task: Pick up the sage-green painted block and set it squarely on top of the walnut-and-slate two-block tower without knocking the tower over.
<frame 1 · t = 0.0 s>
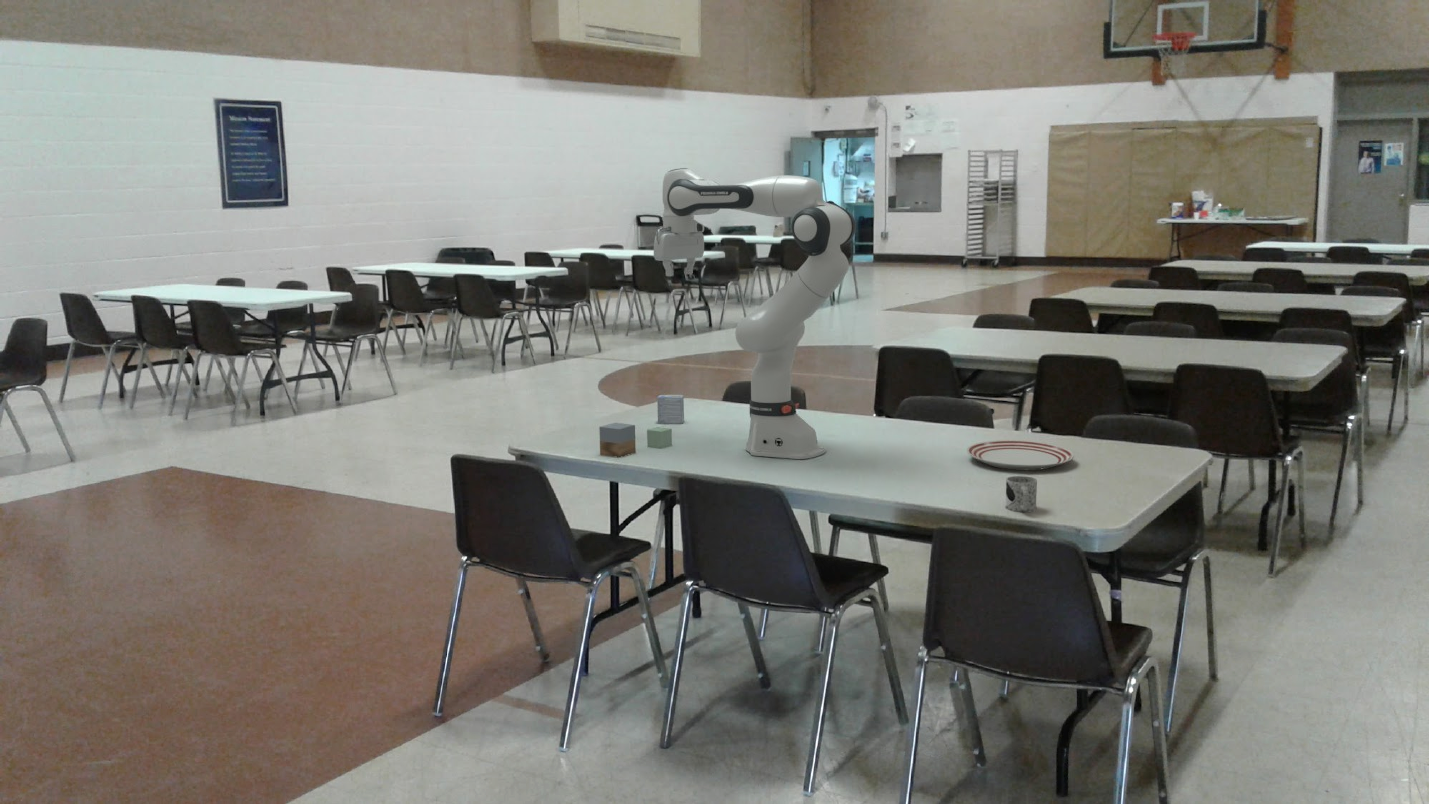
hand: (679, 275, 334), 48 cm above the table, fingers open, 8 cm apart
medicine box: (671, 423, 366), on the table
tower base: (617, 454, 323), on the table, touching tower top
sage block: (659, 446, 332), on the table
dinner plate: (1019, 463, 307), on the table
mug: (1021, 511, 260), on the table
tower top: (617, 440, 322), point 4 cm above the table, touching tower base
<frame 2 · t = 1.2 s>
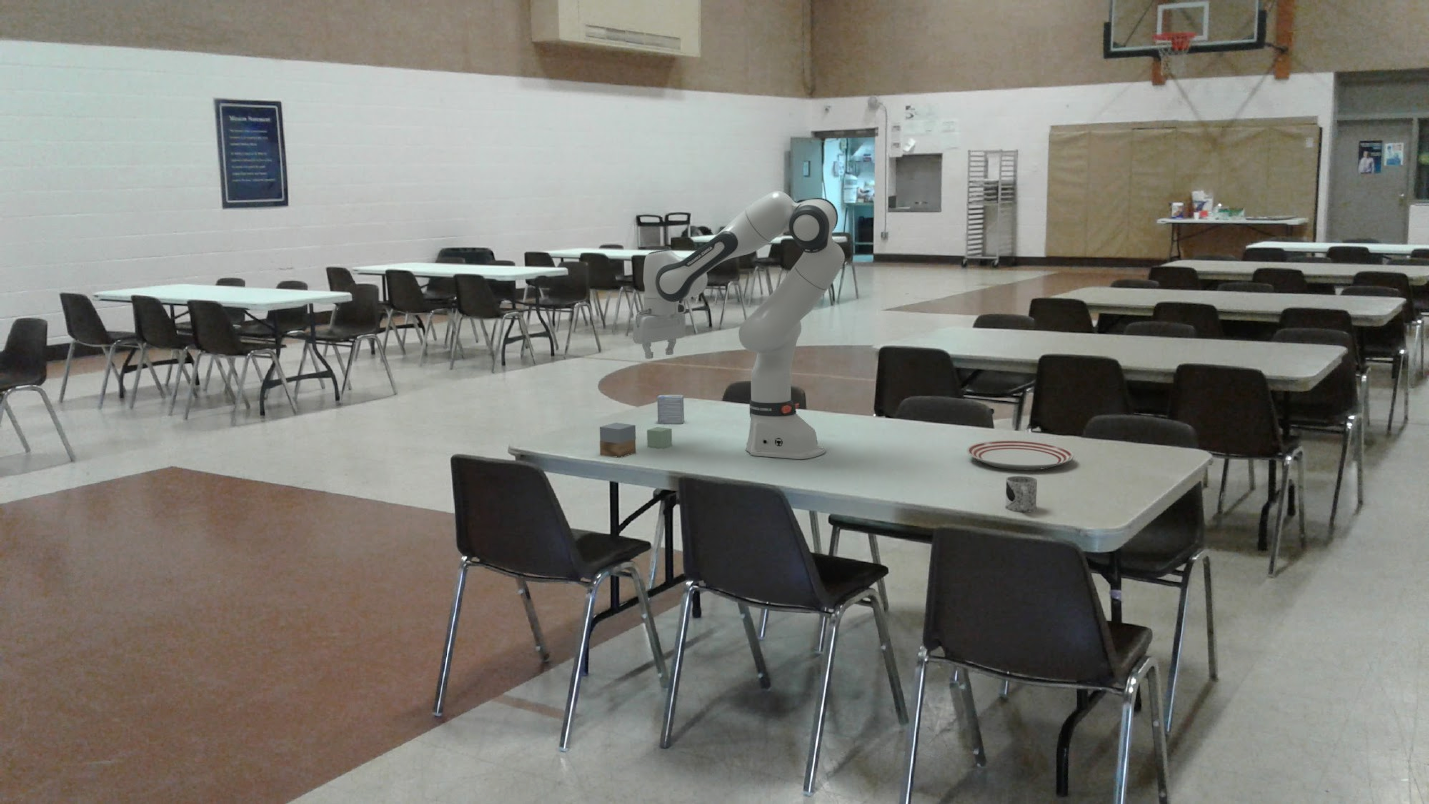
hand: (659, 356, 329), 26 cm above the table, fingers open, 8 cm apart
nothing on the table moved.
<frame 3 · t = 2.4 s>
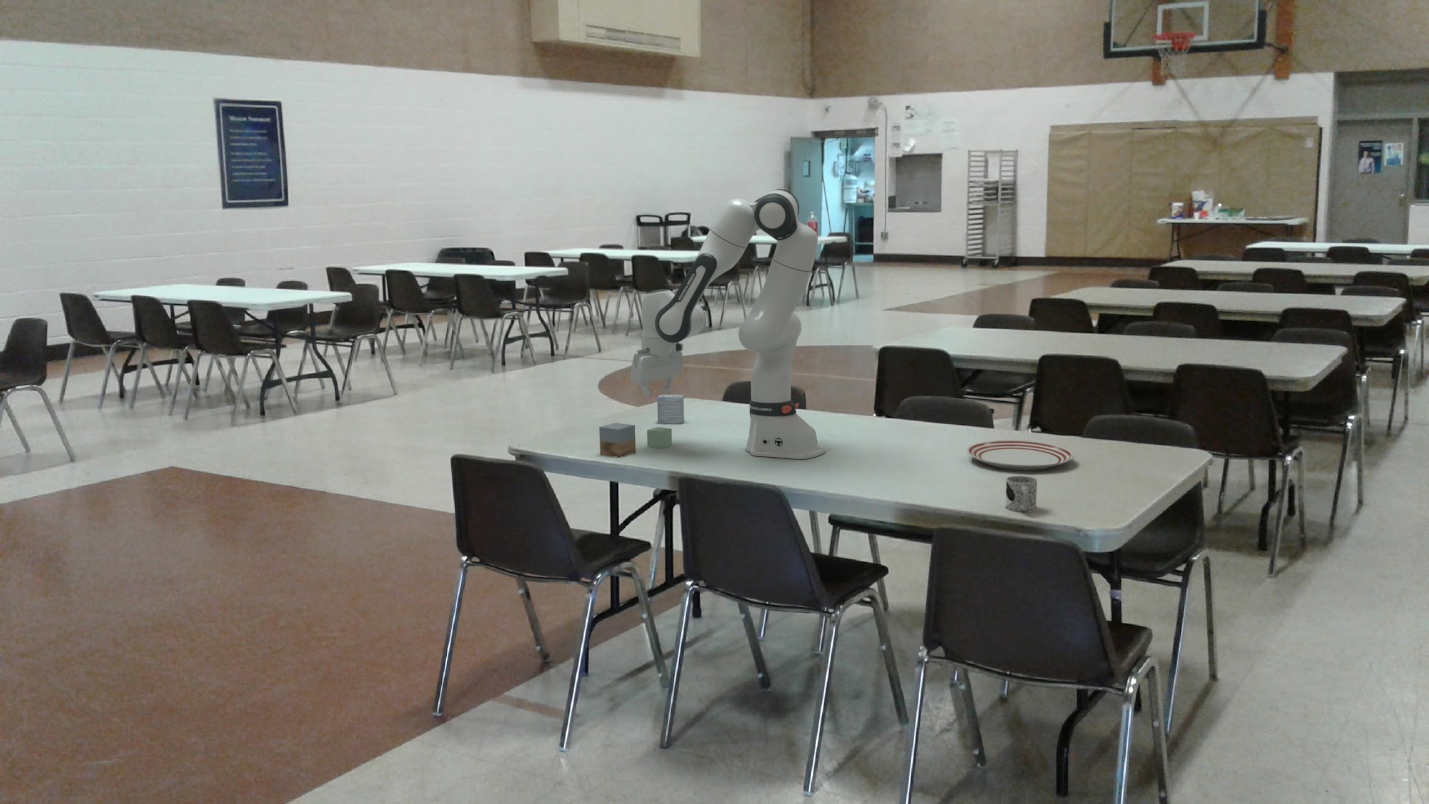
hand: (656, 395, 329), 15 cm above the table, fingers open, 8 cm apart
nothing on the table moved.
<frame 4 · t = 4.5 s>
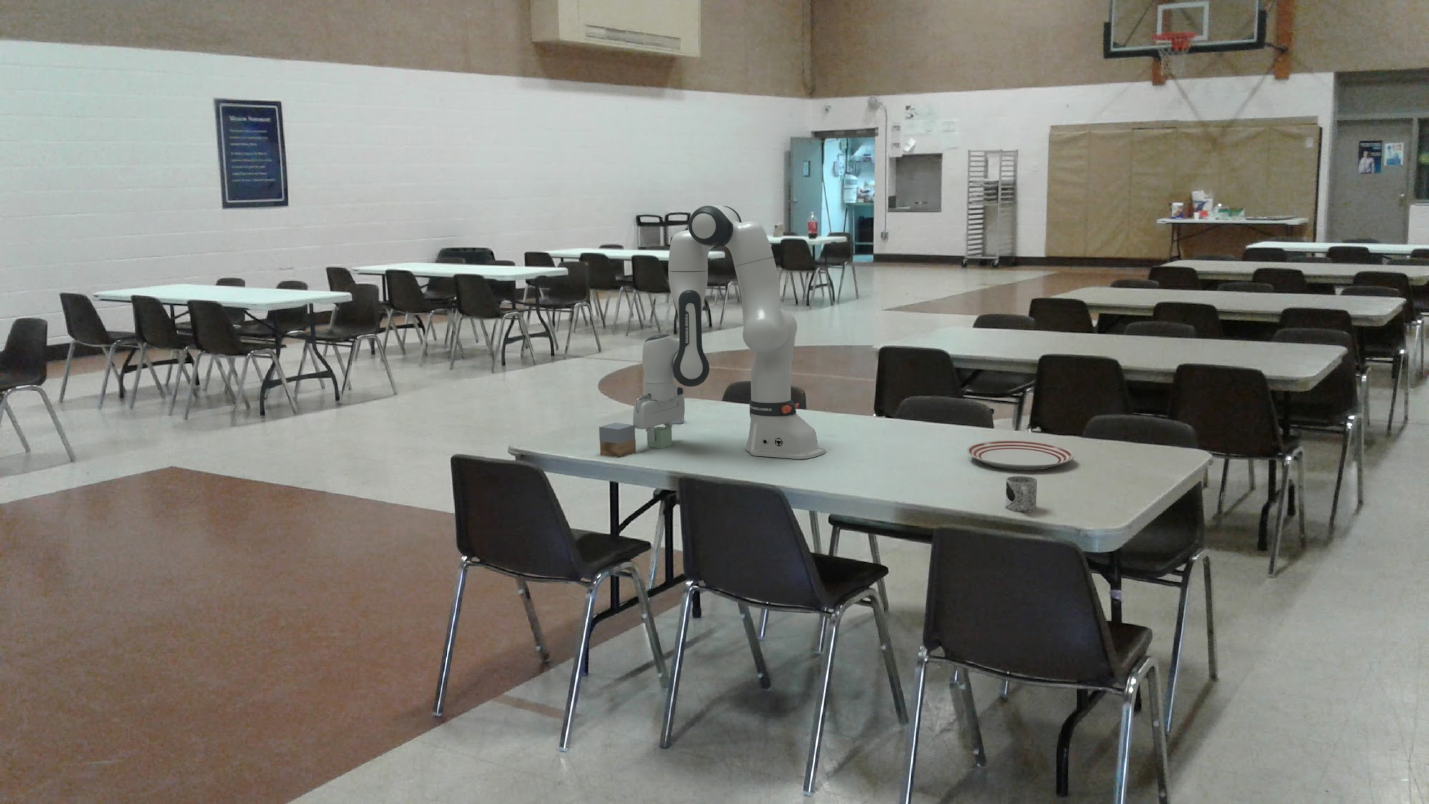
hand: (659, 439, 332), 2 cm above the table, fingers closed on sage block, 5 cm apart
sage block: (659, 446, 332), on the table, touching gripper
everything else where it was.
when the fingers open (11 cm above the table, at t = 10.9 s): sage block stays where it is, resting on tower top.
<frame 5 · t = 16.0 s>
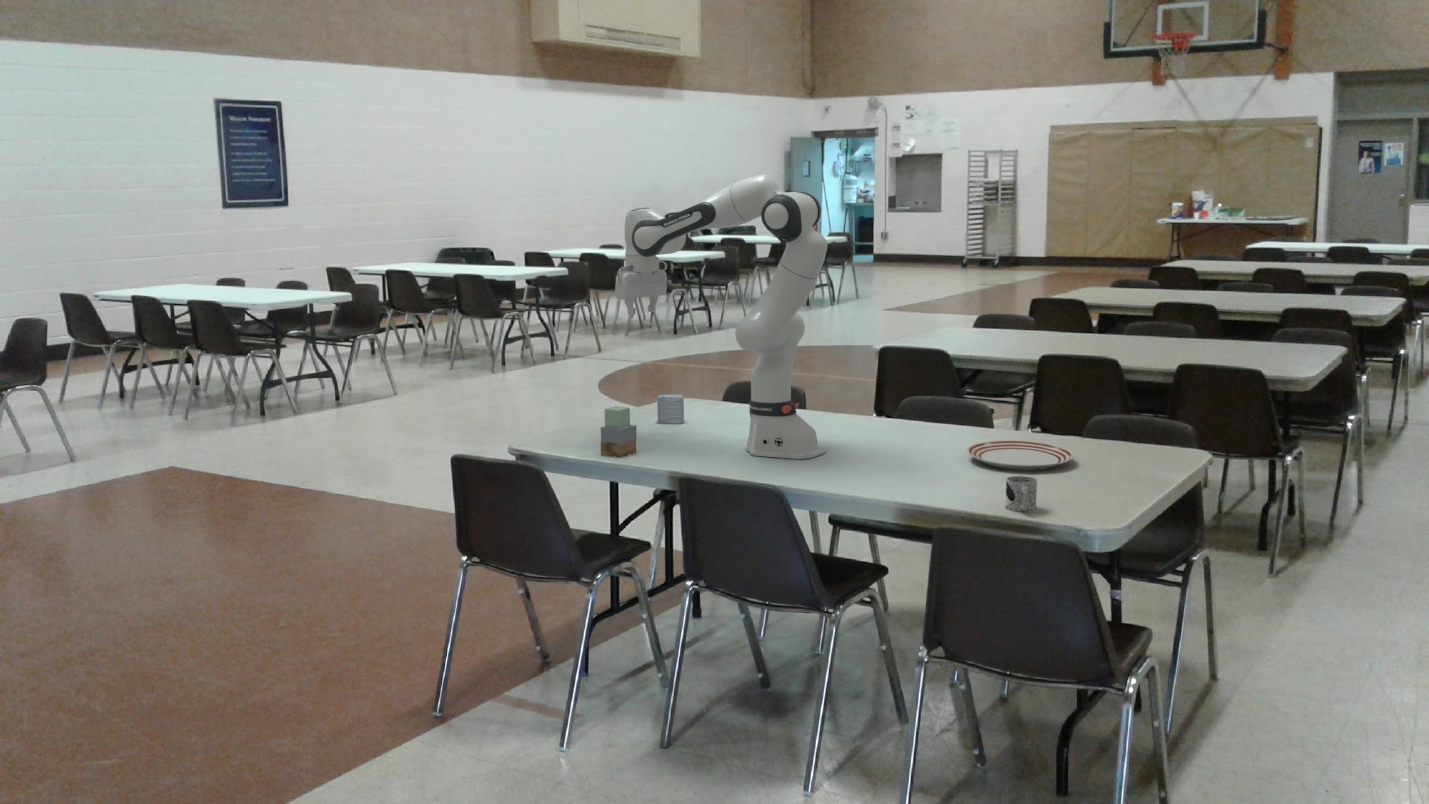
hand: (641, 313, 336), 37 cm above the table, fingers open, 8 cm apart
sage block: (617, 426, 321), point 8 cm above the table, touching tower top
tower top: (618, 440, 322), point 4 cm above the table, touching sage block, tower base
everything else where it was.
at the end: sage block 0.2 cm off-centre on the tower base, point 8.0 cm above the tower base's base; sage block tilted 0°; tower top 0.2 cm off-centre on the tower base, point 4.0 cm above the tower base's base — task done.
